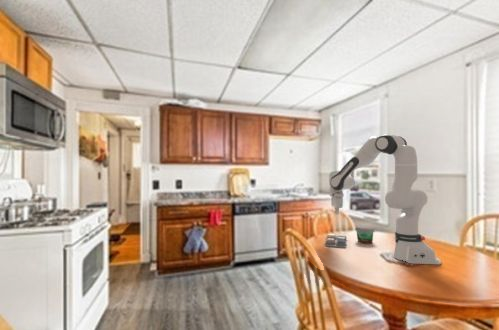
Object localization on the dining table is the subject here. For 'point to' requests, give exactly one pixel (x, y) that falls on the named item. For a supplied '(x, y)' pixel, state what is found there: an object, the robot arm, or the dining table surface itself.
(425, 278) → the dining table surface
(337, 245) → the keypad base
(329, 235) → the cream key
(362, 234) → the food container
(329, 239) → the terracotta key
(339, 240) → the slate key
